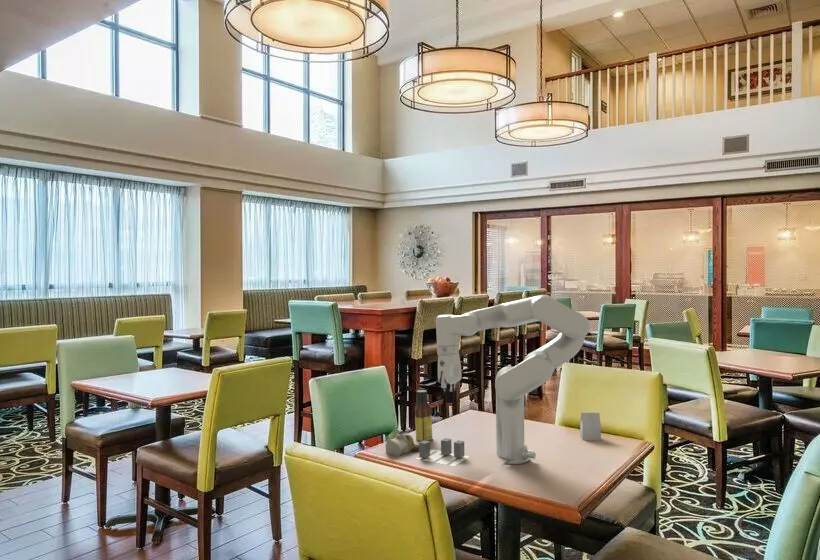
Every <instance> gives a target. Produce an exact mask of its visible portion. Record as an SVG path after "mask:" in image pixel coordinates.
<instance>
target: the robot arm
mask: <svg viewBox="0 0 820 560" xmlns="http://www.w3.org/2000/svg"><path fill="white" fill-rule="evenodd" d="M536 322H541V323H542V324H544V325H545V326H547V327H550V328H551V329H553V330H555V331H556V332H558V335H557V336H556V337H554V338H553V339H552V340H550V341H549V342H547V343H545V344H543V345H541V347H539V348H537V349H535V350H533V351H532V352H529V353H528V354H526V356H525V357H524V359H523V361H521V362H520V363H518V364H516V365H514V366H511V365H508V366H504V367H502V368H501V369H499V370H498V372H497V373H496V375H495V382H494V388H495V423H496V424H495V427H496V429H495V433H496V434H495V435H496V436H495V439H496V440H495V441H496V443H495V444H496V448H495V449H496V456H497V457H499V458H502V459H505V460H506V459H507V460H506V461H505V462H503V464H505V465H521V464H526V463H527V462H529V461H530V459H533V460H535V459H536V457H537V454H536V451H535V450H529V449H528V445H525V395H527V394H529V393H530V392H532V391H534V390H536V389H538V388H539V387H540V386H543V385H544V384H545V383H546V382H548V381H549V380H550V379H551V377H552V375H553V372H554V370H555V369H557V368H559V367H560V366H562V365H563V364H565V363H567V362H568V361H569V360H571V359H572V358H574V357H575V356H576V355H577V354H579V353H578V352H580V350H581V349H582V347H583V345H584V342H585V338H586V336H587V334H589V332H590V322H589V319H588V318H587V317H586V316H585V315H584V314H583V313H580V312H579V311H576V310H575V309H573V308H570V307H569V306H566V305H565V304H563V303H562V302H560V301H558V300H557V299H554V298H553V297H551V296H550V295H547V294H538V295H534V296H529V297H525V298H521V299H518V300H517V299H516V300H512V301H508V302H504V303H500V304H497V305H494V306H490V307H485V308H480V309H475V310H471V311H467V312H465V313H463V314H461V315H456V314H451V313H450V314H439V315H437V316H436V317H435V330H436V333H435V334H436V351H437V355H438V356H437V380H438V381H437V382H438V383H439V384H441V385H440V388H441V389H443V391H444V402H445V404H446V403H447V404H454V403H456V384H458V382H460V381H461V380H462V375H463V373H462V364H461V358H460V350H459V349H460V347H459V336H463V337H470V336H471V337H472V336H474V335H475V334H476V333H477V332H482V331H484V330H490V329H494V328H513V327H518V326H521V325H522V326H523V325H527V324H530V323H536Z"/></svg>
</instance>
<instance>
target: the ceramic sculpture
mask: <svg viewBox="0 0 820 560" xmlns="http://www.w3.org/2000/svg"><path fill="white" fill-rule="evenodd" d="M410 452H419V444H416V443H415V441H414V438H413V436H412V435H411V434H408V433H404V431H399V432H396V434H395V437H394V438H393V439H392V438H388V439H387V440H386V442H385V453H387V454H389V455H390V456H395V457H396V456H401V455H402V454H406V453H410Z"/></svg>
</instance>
